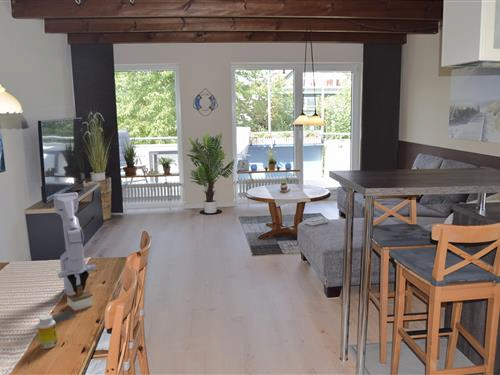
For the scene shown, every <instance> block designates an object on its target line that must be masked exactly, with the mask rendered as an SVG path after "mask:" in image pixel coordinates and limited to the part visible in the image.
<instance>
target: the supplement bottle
mask: <svg viewBox="0 0 500 375" xmlns="http://www.w3.org/2000/svg"><path fill="white" fill-rule="evenodd" d="M52 315H53V314H44V315H42V316H40V317H39V322H38V324H37V332H38V341H39V342H38V343H39V347H40V348H41V349H50V348H53V347H55V346H56V345H57V344H58V336H57V334H58V333H57V325H56V324H57V323H55V321H54V320H53V318H52Z"/></svg>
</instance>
